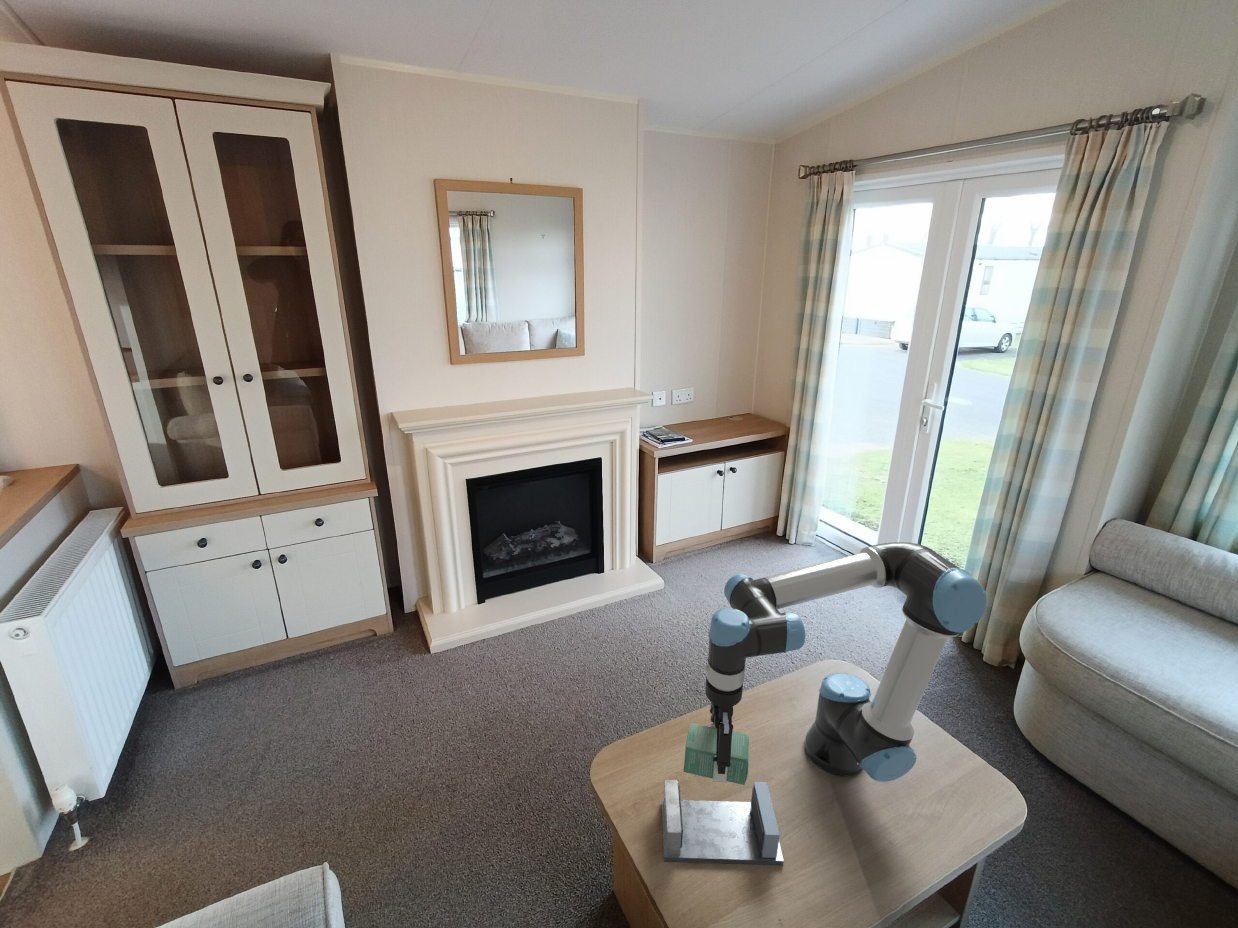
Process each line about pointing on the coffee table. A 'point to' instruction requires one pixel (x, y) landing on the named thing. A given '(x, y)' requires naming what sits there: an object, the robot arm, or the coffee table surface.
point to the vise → (710, 831)
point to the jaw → (765, 820)
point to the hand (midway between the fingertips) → (717, 763)
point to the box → (704, 750)
